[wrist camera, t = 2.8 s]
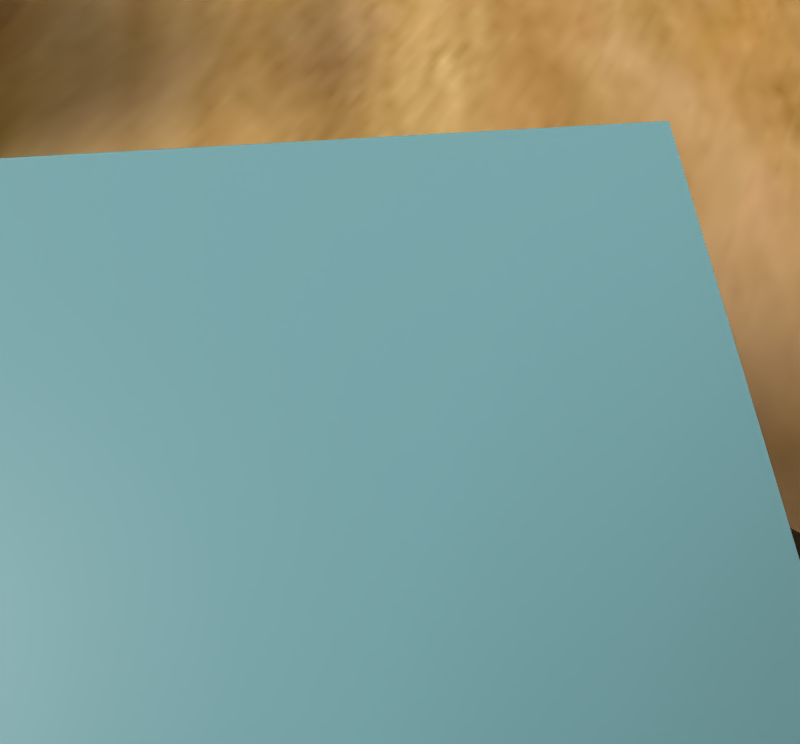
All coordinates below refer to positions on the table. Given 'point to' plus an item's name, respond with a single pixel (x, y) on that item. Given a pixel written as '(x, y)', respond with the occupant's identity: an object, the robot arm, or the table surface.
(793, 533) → the robot arm
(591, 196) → the teal block
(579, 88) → the table surface
